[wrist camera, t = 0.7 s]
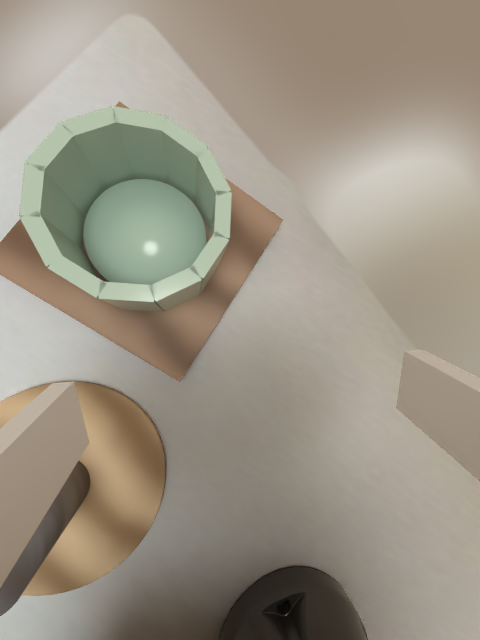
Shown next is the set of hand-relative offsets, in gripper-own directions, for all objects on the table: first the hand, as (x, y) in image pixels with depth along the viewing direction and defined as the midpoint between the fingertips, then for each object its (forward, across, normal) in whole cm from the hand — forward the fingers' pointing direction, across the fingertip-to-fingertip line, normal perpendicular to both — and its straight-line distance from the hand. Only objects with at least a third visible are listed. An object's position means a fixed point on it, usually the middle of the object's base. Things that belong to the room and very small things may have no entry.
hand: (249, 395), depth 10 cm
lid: (+12, +16, +14) cm, 25 cm away
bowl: (+18, +7, -7) cm, 21 cm away
